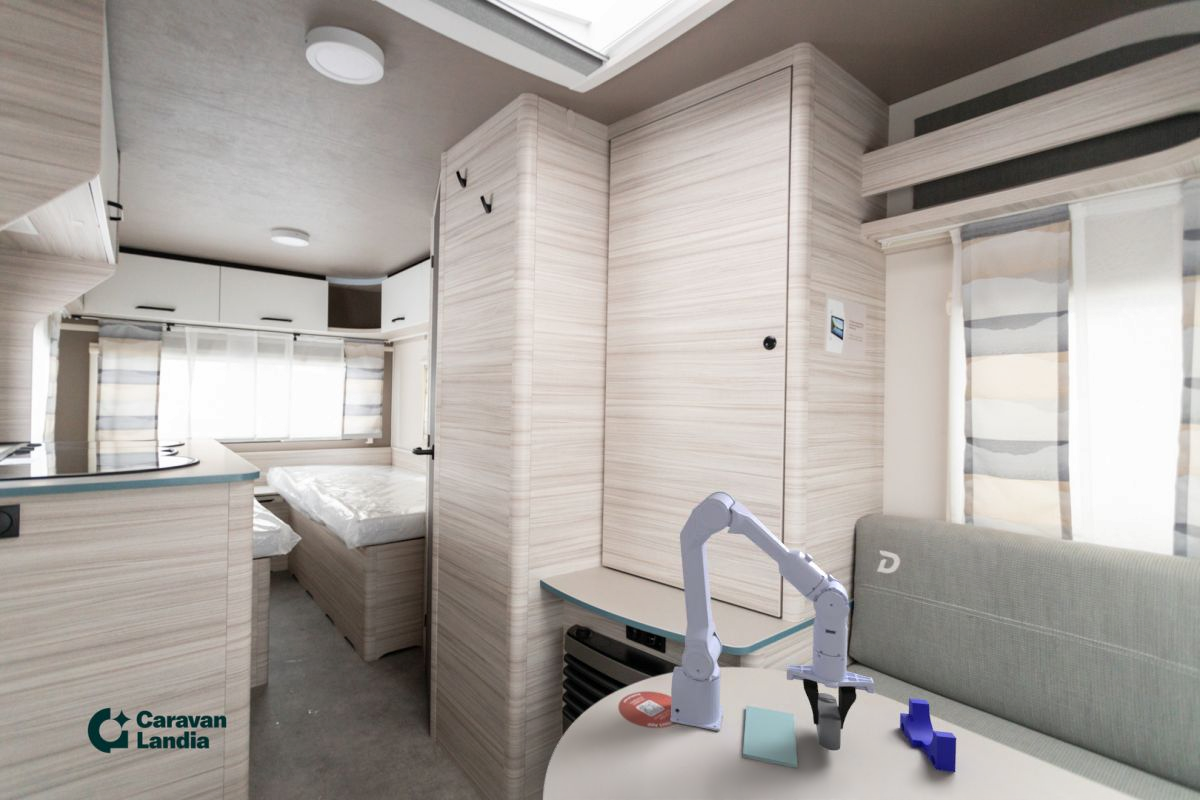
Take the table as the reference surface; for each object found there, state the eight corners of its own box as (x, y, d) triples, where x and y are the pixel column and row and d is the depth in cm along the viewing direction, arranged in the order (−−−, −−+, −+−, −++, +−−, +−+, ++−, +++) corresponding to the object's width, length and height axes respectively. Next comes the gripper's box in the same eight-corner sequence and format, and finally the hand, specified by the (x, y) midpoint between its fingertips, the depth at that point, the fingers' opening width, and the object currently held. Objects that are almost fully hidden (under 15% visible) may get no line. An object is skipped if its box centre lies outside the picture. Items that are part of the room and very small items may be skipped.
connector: (819, 748, 96) (820, 722, 96) (814, 710, 108) (814, 687, 108) (841, 752, 95) (842, 726, 95) (833, 713, 107) (834, 690, 107)
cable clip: (899, 728, 107) (900, 697, 107) (924, 731, 106) (925, 700, 106) (926, 769, 95) (927, 735, 95) (955, 772, 94) (956, 738, 94)
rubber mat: (743, 757, 97) (743, 753, 97) (746, 708, 112) (746, 705, 112) (797, 768, 94) (797, 764, 94) (793, 716, 110) (793, 713, 110)
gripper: (788, 652, 99) (786, 728, 99) (877, 666, 94) (875, 745, 95) (786, 636, 105) (785, 707, 105) (870, 648, 101) (868, 722, 101)
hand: (827, 723), depth 100 cm, fingers closed on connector, 3 cm apart
